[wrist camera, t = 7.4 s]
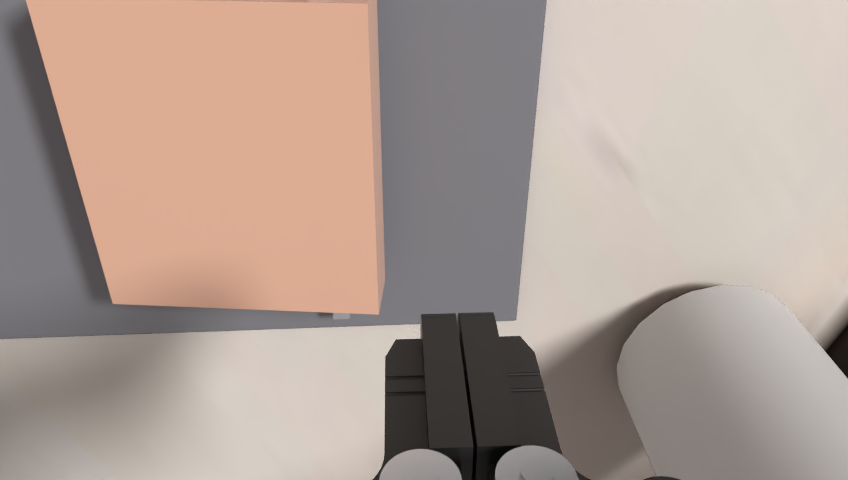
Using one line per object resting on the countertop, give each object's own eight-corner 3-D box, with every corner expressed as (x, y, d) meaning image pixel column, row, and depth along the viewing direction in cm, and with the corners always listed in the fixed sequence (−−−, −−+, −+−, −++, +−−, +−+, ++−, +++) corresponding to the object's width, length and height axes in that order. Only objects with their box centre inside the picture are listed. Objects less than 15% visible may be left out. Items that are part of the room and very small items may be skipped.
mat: (556, -139, 20) (566, -136, 19) (514, 314, 28) (519, 333, 27) (-192, -141, 18) (-225, -137, 17) (-1, 332, 27) (-15, 353, 26)
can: (574, 370, 30) (678, 661, 20) (696, 241, 27) (894, 509, 17) (699, 429, 32) (849, 715, 22) (824, 317, 29) (1066, 591, 19)
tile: (367, 3, 18) (24, -4, 18) (378, 314, 23) (112, 303, 24) (377, -15, 20) (65, -20, 20) (385, 277, 25) (138, 268, 25)
